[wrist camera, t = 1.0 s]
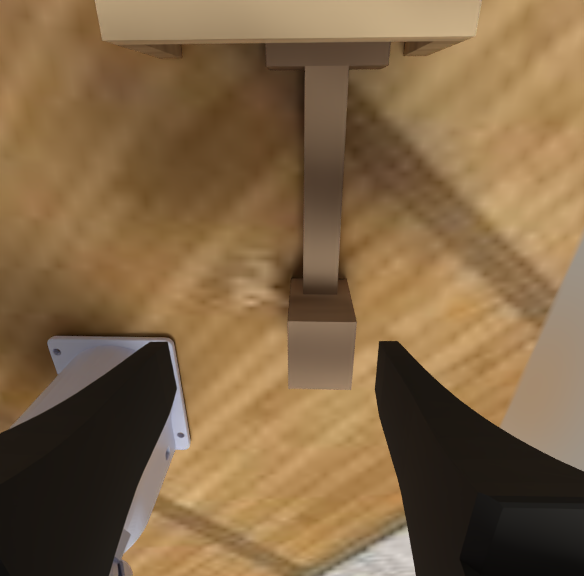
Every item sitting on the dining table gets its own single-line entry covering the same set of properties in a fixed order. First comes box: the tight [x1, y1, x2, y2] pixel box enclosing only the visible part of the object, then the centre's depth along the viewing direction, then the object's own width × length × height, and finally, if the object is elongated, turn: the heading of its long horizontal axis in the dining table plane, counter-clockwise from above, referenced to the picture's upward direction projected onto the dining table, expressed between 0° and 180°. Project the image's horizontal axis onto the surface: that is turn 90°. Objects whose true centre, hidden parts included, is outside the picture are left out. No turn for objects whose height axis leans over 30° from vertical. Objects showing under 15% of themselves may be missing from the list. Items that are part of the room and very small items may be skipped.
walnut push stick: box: [265, 42, 391, 390], centre depth 18 cm, size 16×5×5 cm, turn 0°
